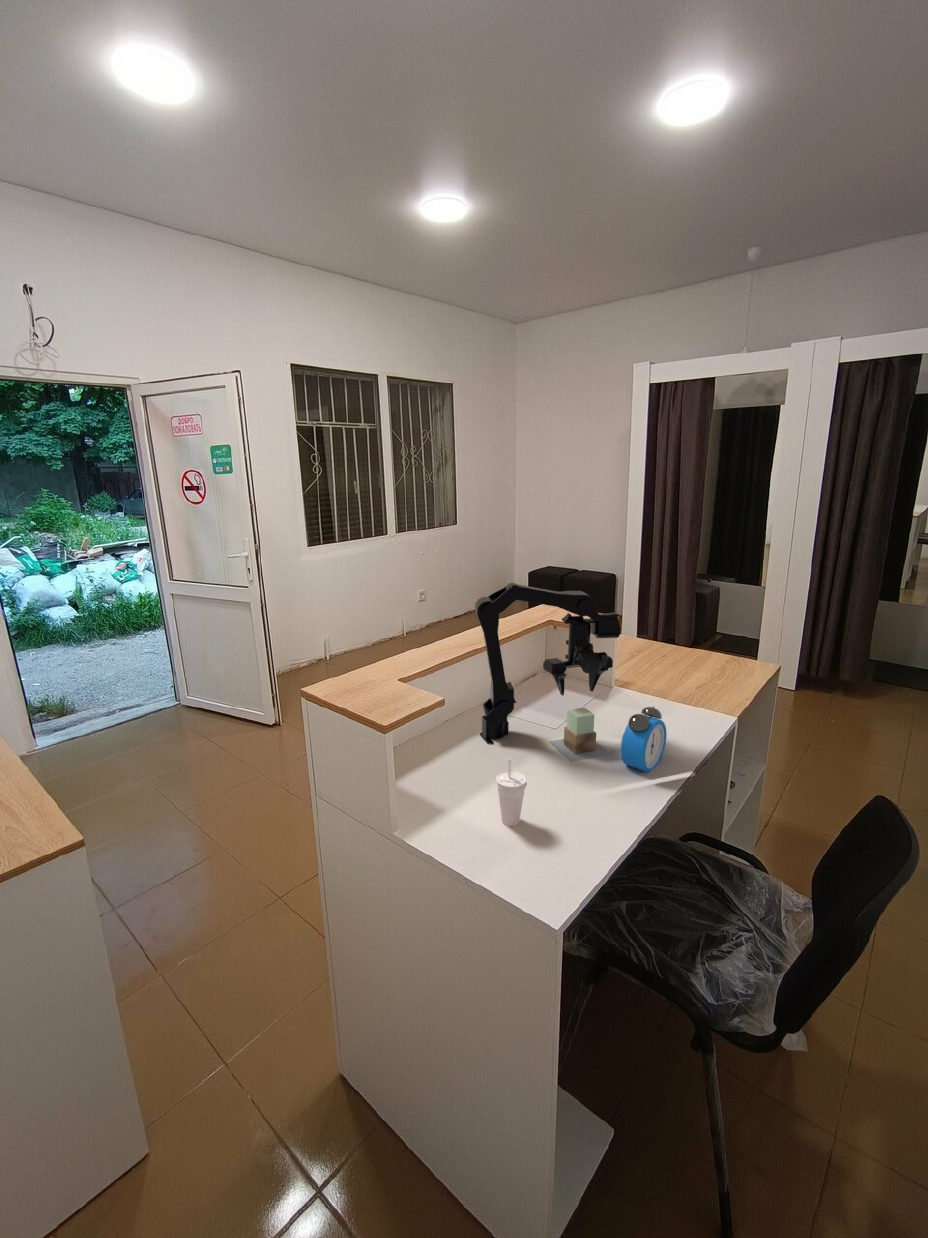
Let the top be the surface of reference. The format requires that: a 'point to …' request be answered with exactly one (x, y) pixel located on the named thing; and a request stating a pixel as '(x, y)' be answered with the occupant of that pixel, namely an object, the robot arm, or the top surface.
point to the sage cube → (580, 721)
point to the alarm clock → (644, 740)
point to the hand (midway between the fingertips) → (576, 693)
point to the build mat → (574, 757)
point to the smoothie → (511, 795)
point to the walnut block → (579, 741)
